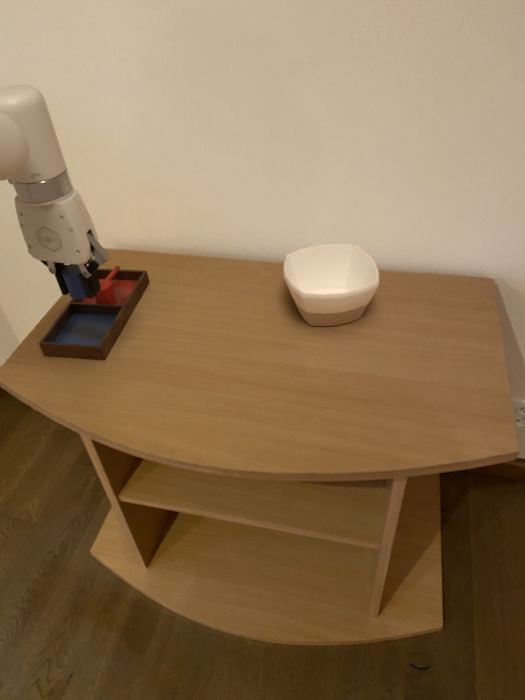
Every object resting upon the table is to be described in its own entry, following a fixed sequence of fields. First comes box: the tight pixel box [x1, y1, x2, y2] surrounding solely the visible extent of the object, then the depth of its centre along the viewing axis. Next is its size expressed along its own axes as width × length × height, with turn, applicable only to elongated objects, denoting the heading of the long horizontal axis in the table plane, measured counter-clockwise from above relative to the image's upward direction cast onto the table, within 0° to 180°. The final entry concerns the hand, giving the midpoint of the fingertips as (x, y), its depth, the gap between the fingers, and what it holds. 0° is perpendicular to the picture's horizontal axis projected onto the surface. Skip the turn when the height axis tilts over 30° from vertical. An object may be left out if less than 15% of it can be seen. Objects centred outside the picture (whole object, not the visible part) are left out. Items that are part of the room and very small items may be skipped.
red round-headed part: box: [94, 265, 121, 304], centre depth 106 cm, size 10×4×4 cm, turn 165°
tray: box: [38, 268, 151, 361], centre depth 102 cm, size 25×12×3 cm, turn 170°
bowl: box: [282, 243, 381, 327], centre depth 98 cm, size 18×18×9 cm
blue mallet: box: [61, 252, 96, 300], centre depth 84 cm, size 10×4×4 cm, turn 164°
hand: (81, 291), depth 83 cm, fingers closed on blue mallet, 4 cm apart
